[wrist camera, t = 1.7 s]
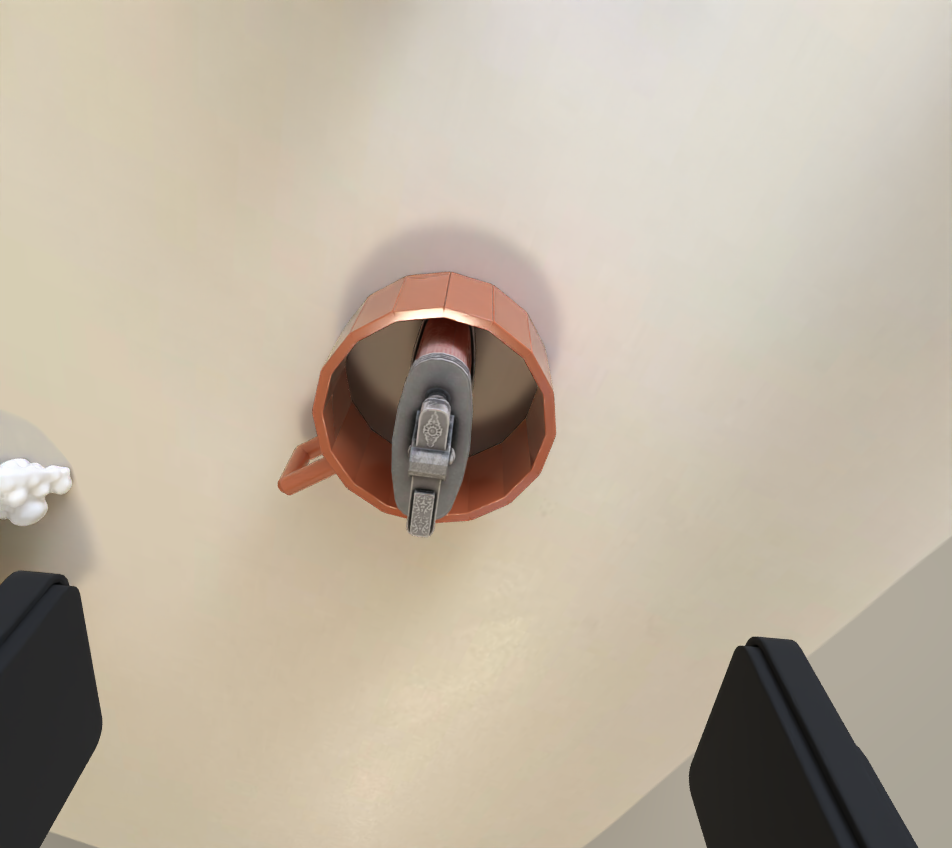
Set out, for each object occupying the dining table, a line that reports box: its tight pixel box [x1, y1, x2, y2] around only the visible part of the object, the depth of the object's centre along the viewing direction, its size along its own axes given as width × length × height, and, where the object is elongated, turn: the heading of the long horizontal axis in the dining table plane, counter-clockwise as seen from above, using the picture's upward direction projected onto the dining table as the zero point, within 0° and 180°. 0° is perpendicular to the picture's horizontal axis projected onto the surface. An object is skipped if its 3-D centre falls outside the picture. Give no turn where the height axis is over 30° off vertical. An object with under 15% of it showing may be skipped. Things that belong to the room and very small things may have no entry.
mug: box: [278, 272, 556, 523], centre depth 34 cm, size 14×11×6 cm
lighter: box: [391, 317, 476, 537], centre depth 32 cm, size 8×3×10 cm, turn 172°
